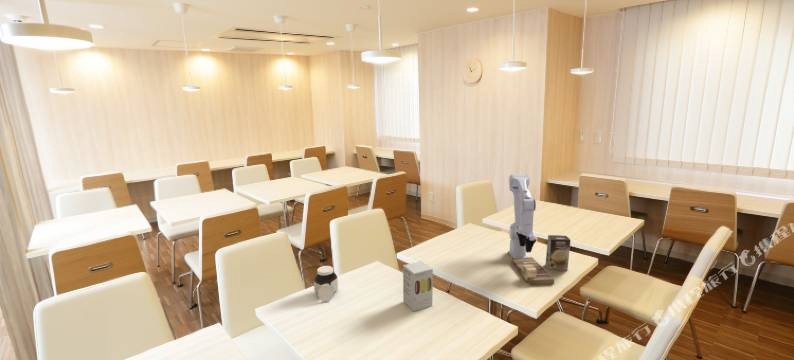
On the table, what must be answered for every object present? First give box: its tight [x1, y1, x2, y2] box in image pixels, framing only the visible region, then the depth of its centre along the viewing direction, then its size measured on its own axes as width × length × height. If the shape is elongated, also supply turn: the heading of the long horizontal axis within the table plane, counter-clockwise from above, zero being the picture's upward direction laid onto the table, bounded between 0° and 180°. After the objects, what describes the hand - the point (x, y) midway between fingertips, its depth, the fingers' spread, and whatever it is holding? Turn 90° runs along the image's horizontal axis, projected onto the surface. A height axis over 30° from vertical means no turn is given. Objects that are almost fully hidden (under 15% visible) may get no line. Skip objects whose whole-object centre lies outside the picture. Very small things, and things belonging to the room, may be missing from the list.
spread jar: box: [313, 265, 339, 303], centre depth 166 cm, size 12×11×12 cm
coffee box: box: [545, 234, 572, 271], centre depth 188 cm, size 9×6×16 cm
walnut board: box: [510, 256, 555, 286], centre depth 184 cm, size 24×11×3 cm, turn 4°
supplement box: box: [402, 260, 434, 312], centre depth 158 cm, size 10×9×17 cm
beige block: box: [521, 265, 541, 282], centre depth 177 cm, size 5×8×6 cm, turn 94°
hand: (525, 249), depth 187 cm, fingers open, 7 cm apart
